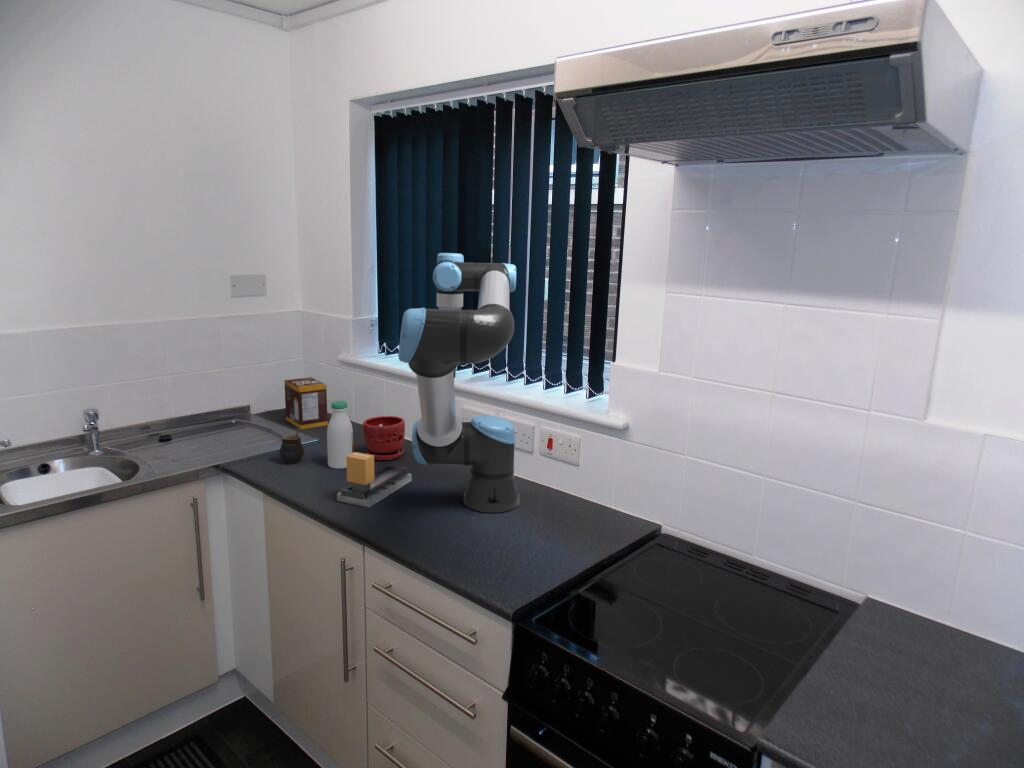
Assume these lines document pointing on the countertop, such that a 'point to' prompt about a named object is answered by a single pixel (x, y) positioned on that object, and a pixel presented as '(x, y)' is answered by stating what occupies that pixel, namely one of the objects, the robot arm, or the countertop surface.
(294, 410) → the supplement box
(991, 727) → the countertop surface
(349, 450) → the milk bottle
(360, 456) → the fader knob
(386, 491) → the fader strip
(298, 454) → the mate gourd
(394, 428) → the plant pot
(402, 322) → the robot arm
